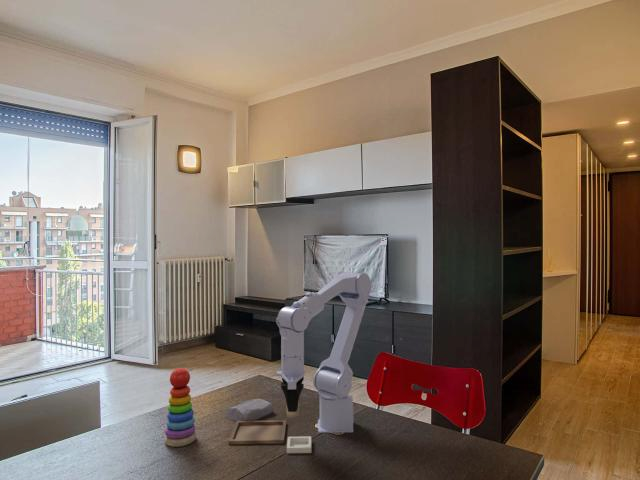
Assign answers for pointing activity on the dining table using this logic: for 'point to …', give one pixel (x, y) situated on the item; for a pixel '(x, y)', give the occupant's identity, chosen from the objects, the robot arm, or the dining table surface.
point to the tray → (258, 432)
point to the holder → (299, 444)
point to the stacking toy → (180, 411)
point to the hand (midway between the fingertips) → (292, 408)
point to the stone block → (250, 410)
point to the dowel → (292, 414)
